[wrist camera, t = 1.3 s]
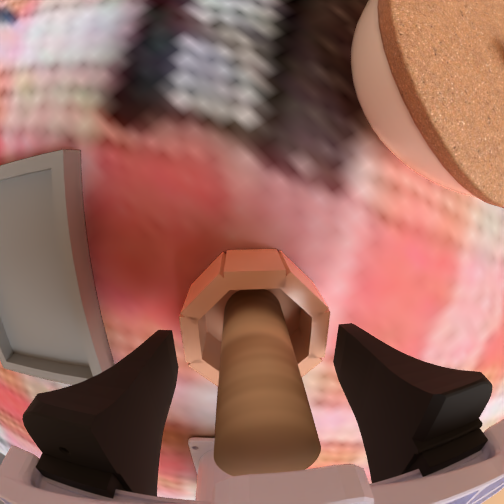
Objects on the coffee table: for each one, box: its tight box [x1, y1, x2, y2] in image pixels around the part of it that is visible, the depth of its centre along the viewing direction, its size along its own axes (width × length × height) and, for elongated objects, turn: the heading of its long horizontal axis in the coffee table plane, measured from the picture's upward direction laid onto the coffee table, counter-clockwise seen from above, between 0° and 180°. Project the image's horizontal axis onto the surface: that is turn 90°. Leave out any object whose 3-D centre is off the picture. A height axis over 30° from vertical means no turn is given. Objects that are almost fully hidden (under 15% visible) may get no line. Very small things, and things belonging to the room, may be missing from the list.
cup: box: [179, 249, 330, 386], centre depth 14 cm, size 7×7×3 cm
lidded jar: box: [351, 0, 504, 208], centre depth 9 cm, size 11×11×9 cm
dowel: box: [214, 289, 321, 476], centre depth 11 cm, size 3×3×9 cm
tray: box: [0, 150, 115, 385], centre depth 14 cm, size 14×10×2 cm
